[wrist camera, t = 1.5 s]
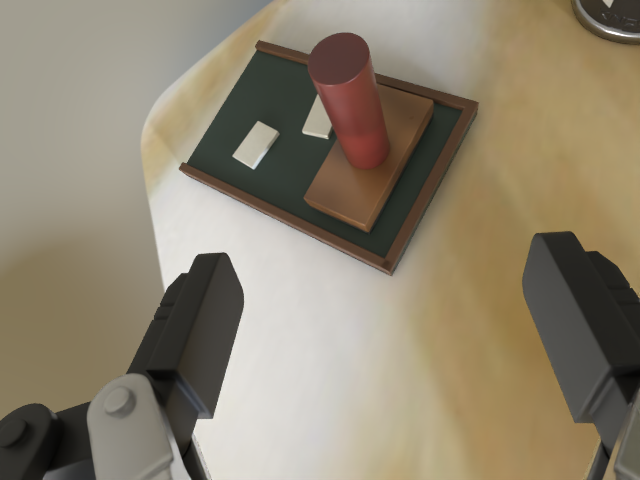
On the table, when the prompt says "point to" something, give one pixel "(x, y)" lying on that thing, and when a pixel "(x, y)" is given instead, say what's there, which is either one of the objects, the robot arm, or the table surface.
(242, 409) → the table surface
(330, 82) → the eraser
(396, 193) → the board
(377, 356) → the table surface
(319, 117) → the white rectangular block
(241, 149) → the white rectangular block
